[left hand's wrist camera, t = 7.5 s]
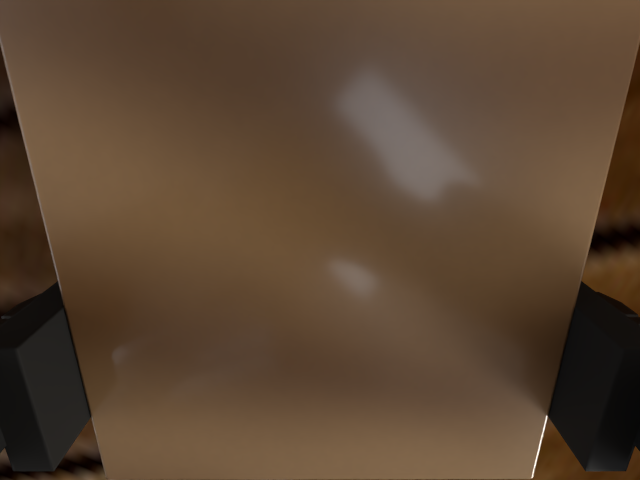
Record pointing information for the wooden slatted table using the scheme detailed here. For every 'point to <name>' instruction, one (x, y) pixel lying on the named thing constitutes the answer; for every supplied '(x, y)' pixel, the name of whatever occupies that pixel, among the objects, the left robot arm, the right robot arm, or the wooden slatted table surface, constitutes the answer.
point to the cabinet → (319, 222)
